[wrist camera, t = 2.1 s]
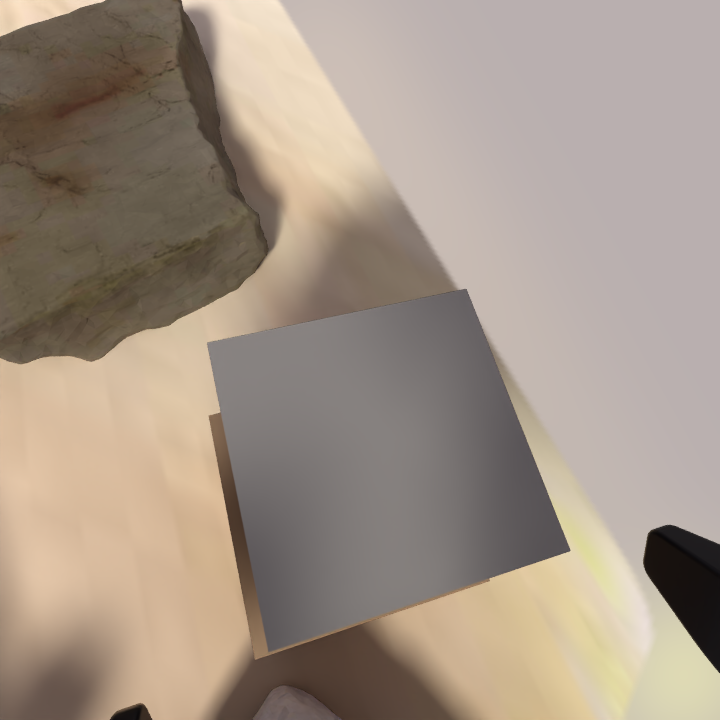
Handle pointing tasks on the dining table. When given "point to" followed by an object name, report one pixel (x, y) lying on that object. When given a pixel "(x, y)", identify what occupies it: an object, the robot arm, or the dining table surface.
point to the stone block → (293, 706)
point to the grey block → (376, 463)
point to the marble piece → (112, 182)
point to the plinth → (243, 554)
